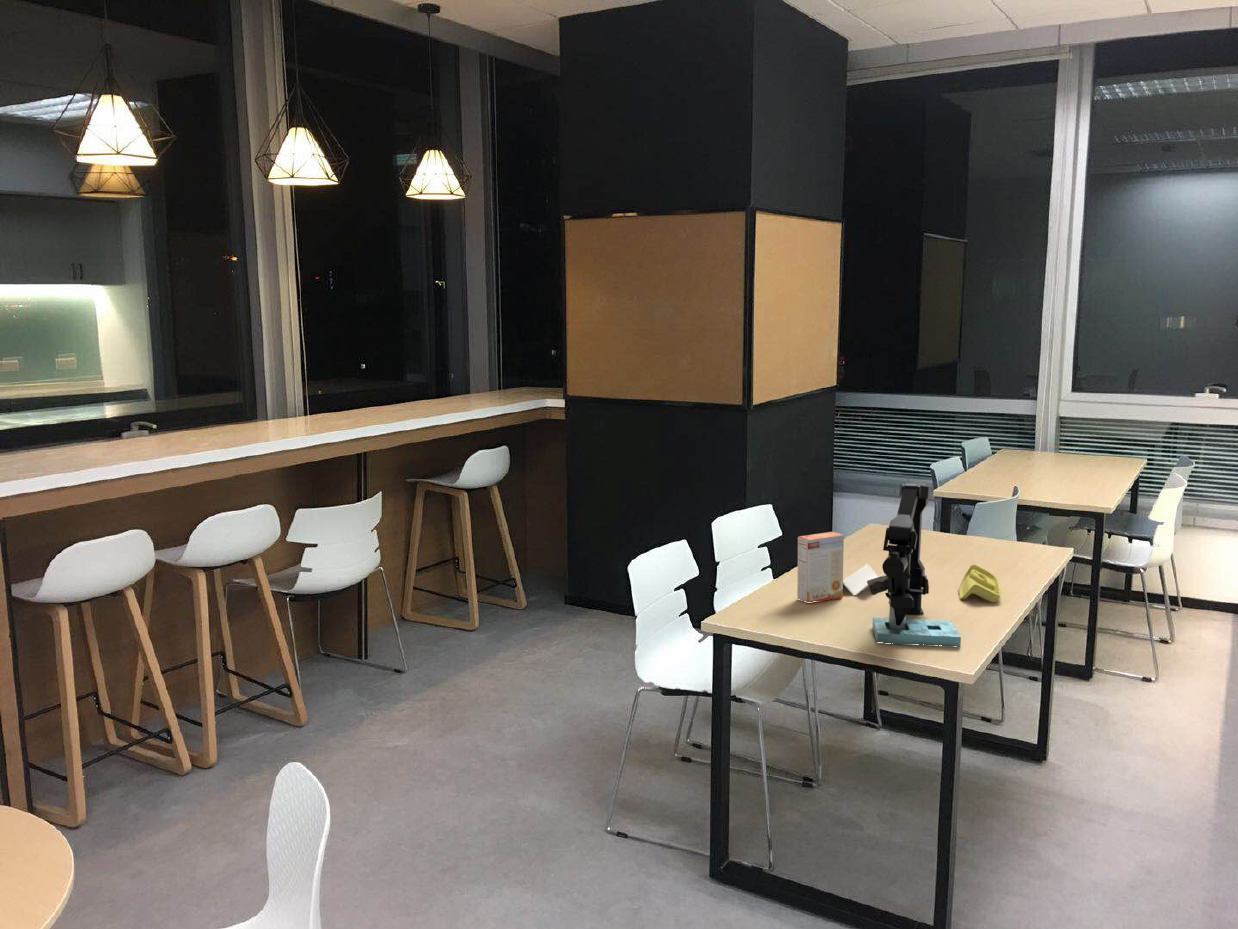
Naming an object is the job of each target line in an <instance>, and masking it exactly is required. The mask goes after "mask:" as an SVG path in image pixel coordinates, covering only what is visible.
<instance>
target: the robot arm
mask: <svg viewBox="0 0 1238 929" xmlns="http://www.w3.org/2000/svg"><path fill="white" fill-rule="evenodd" d="M898 493H899V494H898V497H899V498H900V502H899V506H898V510H897V514H896V516H895V517H894V518H892V519H890V522H889V526H888V527H886V529H885V534H884V541H883V548H882V550H883V551H885V552H888V555H887V557H886V558H885V560H884V561H883V563H882V567H881V568H882V573H885V574H884V575H883V576H881V577H877V578H874V579H871V580H868V581H867V584H868V587H867V588H868V589H869V592H870V595H872V596H875V595H877V594H880V593H882V592H885V596H886V597H887V599H888V605H889V608H890V607H893V608H894V614H895V621H896V625H897V626H900V625H901V623H902V621H903V619H904V618H905V616H906V615H907V614H908V615H924V610H923V609H922V598H923V597H922V596H926V595H928V594H929V593H930V585H929V584H930V582H929V579H928V578H927V577H928V576H927V574H925V573H926V568H925V566H924V564H923V563H922V561H921V543H922V524H923V522H922V521H923V511H924V510H925V509H926V507H927V506H928V505H929V501H930V500H931V494H932V488H931V487H930V486H928V484H927V483H917V482H905V484H899V492H898ZM886 591H887V592H886ZM906 617H907V616H906Z"/></svg>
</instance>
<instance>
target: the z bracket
mask: <svg viewBox="0 0 1238 929" xmlns="http://www.w3.org/2000/svg"><path fill="white" fill-rule="evenodd" d="M885 575H886V574H885V573H884V572H882V574H880V575H878V574H877V573H876V571H875V570H874V569H873V568H872V567H871V566H870V564H868V563H866V564H865V565H863V566H862V567H860V568H859V569H858V570H856V571H854V572H853V573H852V574H850V575H848V576H847V577H846V578H845V579H844V578H843V586H844V587H845V588H846V589H847V590H848V591H849V593H850V594H851V595H852V596H853V595H856V596H857V595H858V596H859V594H861V591H862V592H863V591H864V590H865V589H867V588H869V587H868V584H867V581H868V580H871V579H874V578H877V577H881V576H885ZM861 589H862V590H861Z"/></svg>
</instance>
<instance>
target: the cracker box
mask: <svg viewBox="0 0 1238 929" xmlns="http://www.w3.org/2000/svg"><path fill="white" fill-rule="evenodd" d="M844 538H845V535H844V534H841V533H838V532H835V531H828V532H821V533H814V534H807V535H800V536H798V537H797V592H796V593H797V598H798V599H800V600H802V601H806V602H813V601H822V602H825V600H827V601H831V599H833V600H837V599H838V598H839V599H842V598H843V597H844V594H843V593H844V584H843V580H844V547H845V546H844V545H845V544H844V543H845V542H844V540H845V539H844ZM798 599H797V600H798ZM800 600H799V601H800ZM802 601H801V602H802Z"/></svg>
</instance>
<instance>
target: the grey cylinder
mask: <svg viewBox="0 0 1238 929" xmlns="http://www.w3.org/2000/svg"><path fill="white" fill-rule="evenodd" d="M888 612H889V613H888V614H889V615H888V618H889V629H894V630H905V619H907V618H906V617H907V616H905V618H904V619H903V621H902V623H901V625H900V626H897V625H896V621H895V614H894V608H893V607H890V606H889V611H888Z"/></svg>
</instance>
